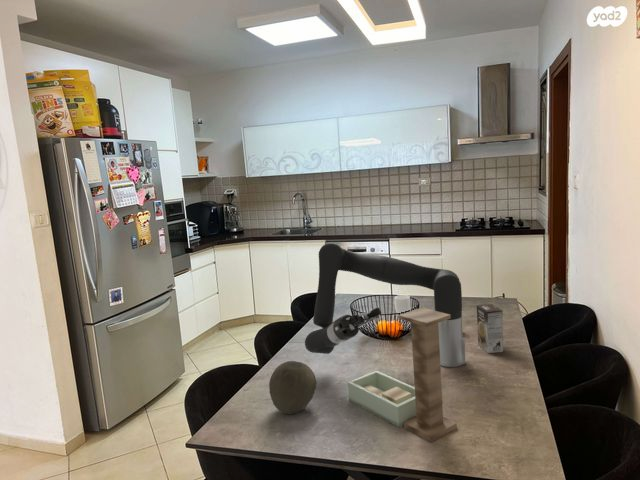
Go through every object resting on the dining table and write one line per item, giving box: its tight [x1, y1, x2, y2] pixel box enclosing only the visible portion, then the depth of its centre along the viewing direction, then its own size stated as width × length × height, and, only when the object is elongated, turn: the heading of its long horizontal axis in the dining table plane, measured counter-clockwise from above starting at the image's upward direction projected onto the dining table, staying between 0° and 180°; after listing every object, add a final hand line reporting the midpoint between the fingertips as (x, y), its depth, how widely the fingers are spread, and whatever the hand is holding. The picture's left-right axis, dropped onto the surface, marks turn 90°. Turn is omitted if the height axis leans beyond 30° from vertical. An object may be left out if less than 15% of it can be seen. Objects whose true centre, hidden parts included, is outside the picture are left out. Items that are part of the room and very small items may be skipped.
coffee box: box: [476, 303, 504, 354], centre depth 181 cm, size 9×6×16 cm
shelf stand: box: [398, 307, 458, 443], centre depth 128 cm, size 10×10×32 cm
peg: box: [363, 385, 411, 405], centre depth 144 cm, size 17×6×5 cm, turn 34°
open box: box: [347, 370, 416, 428], centre depth 144 cm, size 22×12×6 cm, turn 35°
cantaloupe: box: [268, 360, 317, 415], centre depth 146 cm, size 14×14×15 cm
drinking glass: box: [394, 294, 411, 314], centre depth 209 cm, size 7×7×15 cm
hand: (368, 313), depth 145 cm, fingers open, 8 cm apart
